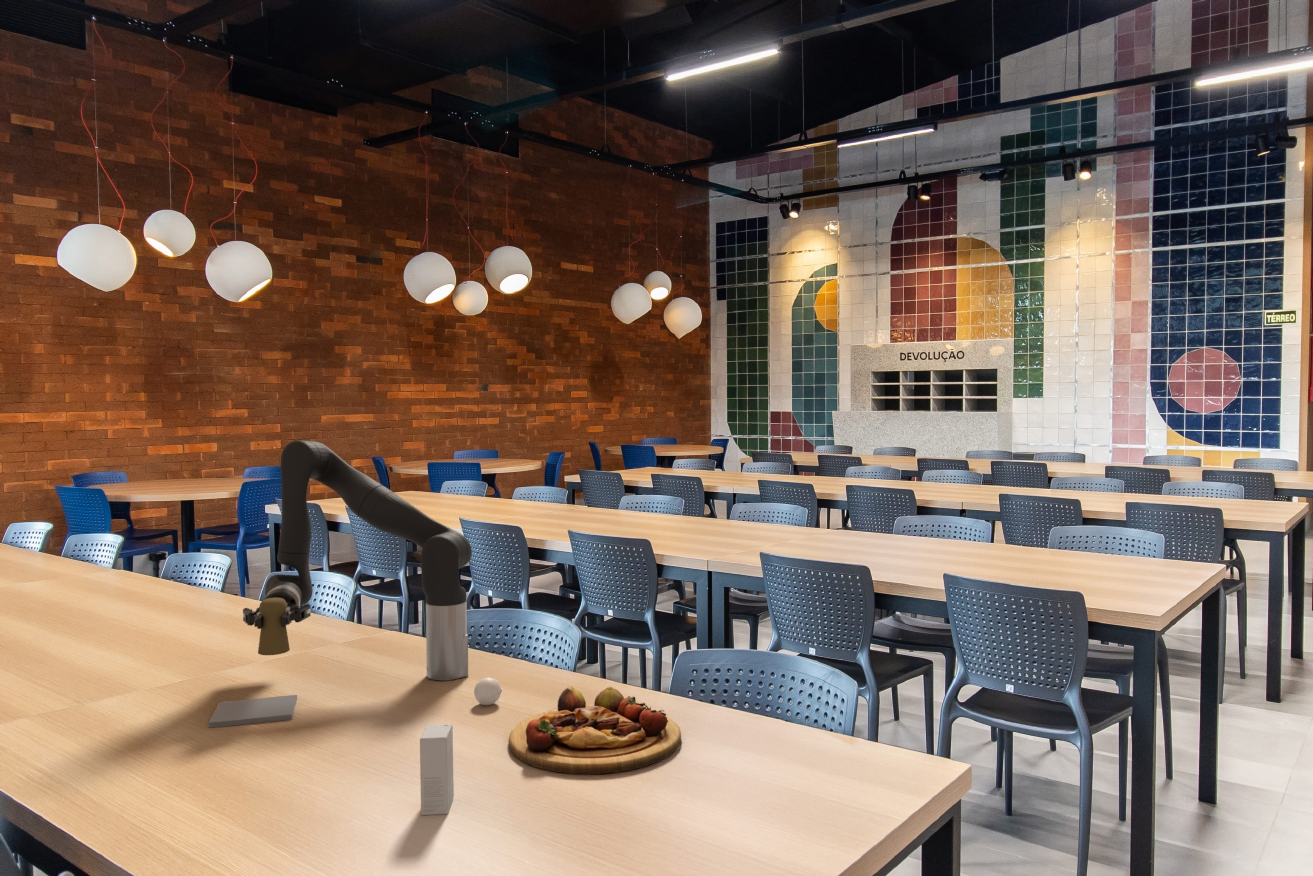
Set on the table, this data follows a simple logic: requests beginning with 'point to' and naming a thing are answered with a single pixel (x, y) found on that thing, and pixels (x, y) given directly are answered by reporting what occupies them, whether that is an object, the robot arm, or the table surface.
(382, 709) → the table surface
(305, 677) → the table surface
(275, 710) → the slate tile
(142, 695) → the table surface
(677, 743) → the wooden plate with food
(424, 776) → the skincare box
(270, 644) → the cork
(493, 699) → the white egg
